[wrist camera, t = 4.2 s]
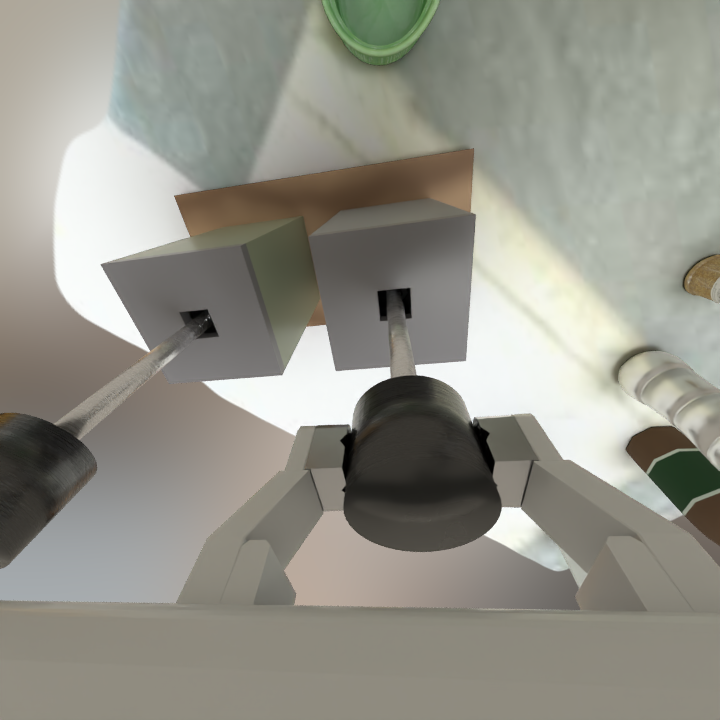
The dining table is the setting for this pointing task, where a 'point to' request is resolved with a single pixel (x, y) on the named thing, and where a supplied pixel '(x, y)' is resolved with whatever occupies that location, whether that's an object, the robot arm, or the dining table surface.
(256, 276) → the olive slotted block
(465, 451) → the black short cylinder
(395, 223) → the grey block
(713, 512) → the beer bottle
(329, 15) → the ramekin
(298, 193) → the walnut board
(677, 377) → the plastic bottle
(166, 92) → the dining table surface
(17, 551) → the black plunger knob
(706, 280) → the sprinkles bottle
